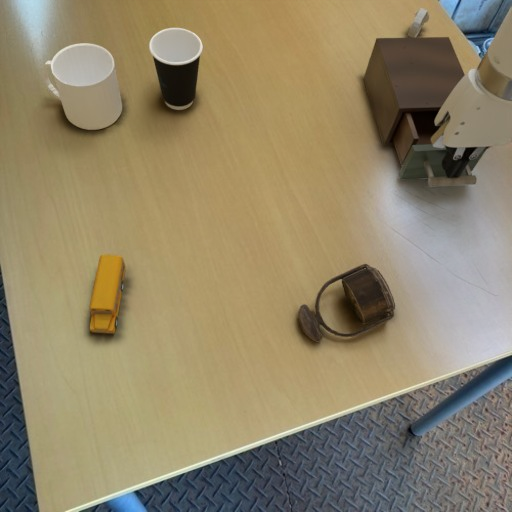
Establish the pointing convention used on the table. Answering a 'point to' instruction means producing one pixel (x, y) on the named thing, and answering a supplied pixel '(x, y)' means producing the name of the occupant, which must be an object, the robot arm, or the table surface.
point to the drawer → (425, 151)
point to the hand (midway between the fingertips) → (449, 169)
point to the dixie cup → (176, 65)
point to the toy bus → (107, 294)
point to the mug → (85, 85)
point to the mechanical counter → (354, 301)
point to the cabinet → (409, 78)
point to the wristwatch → (418, 22)
